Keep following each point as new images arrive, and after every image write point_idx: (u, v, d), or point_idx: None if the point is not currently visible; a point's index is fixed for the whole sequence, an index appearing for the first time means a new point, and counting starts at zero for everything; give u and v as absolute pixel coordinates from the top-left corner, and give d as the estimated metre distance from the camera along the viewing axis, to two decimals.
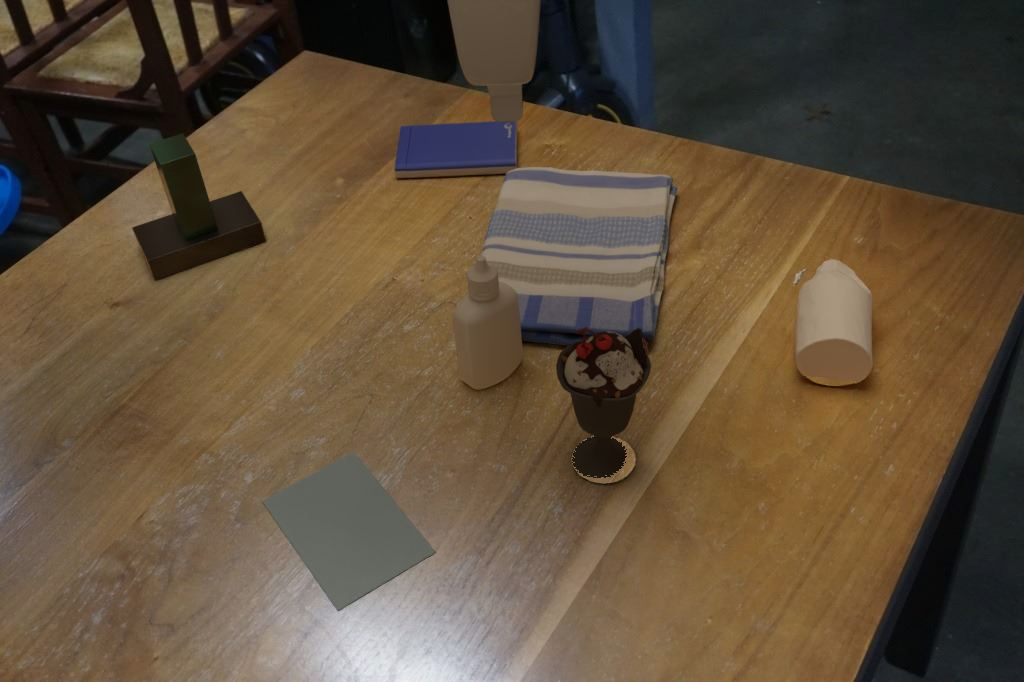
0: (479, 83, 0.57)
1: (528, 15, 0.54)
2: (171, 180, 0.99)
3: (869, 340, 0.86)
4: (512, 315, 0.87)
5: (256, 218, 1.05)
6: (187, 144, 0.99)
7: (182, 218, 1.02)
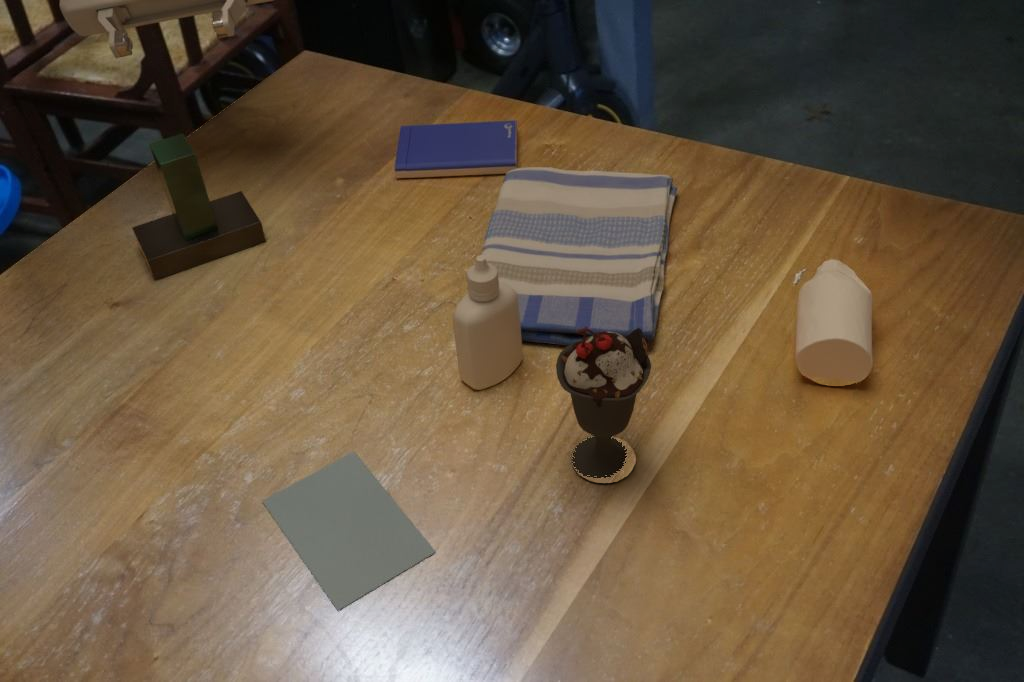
0: None
1: None
2: (171, 180, 0.99)
3: (869, 340, 0.86)
4: (512, 315, 0.87)
5: (256, 218, 1.05)
6: (187, 144, 0.99)
7: (182, 218, 1.02)
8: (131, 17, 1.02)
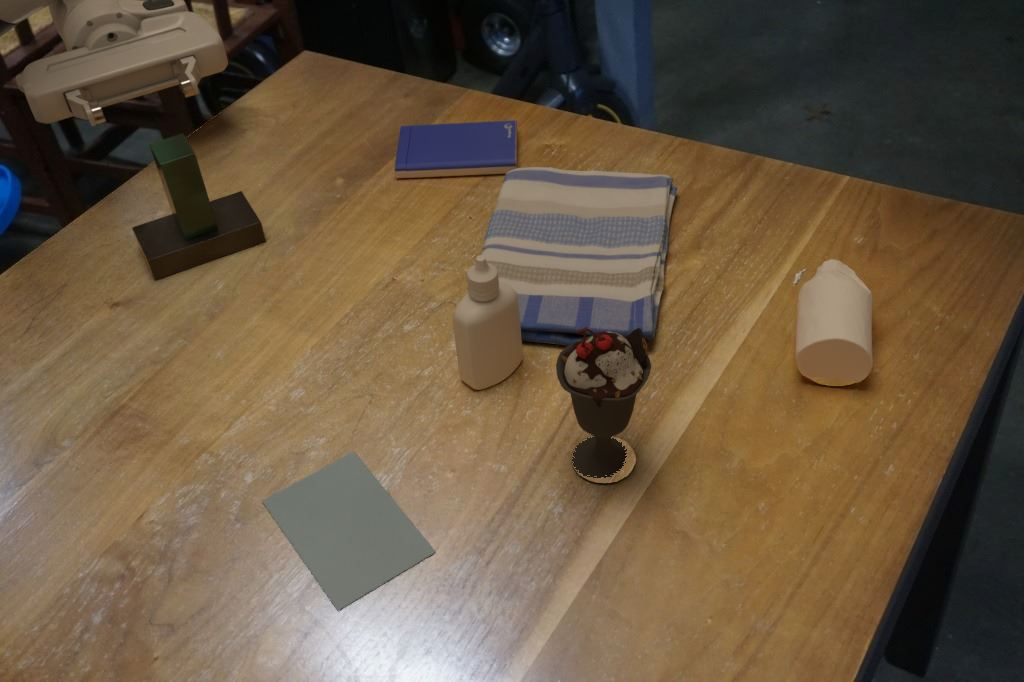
0: (221, 45, 1.14)
1: None
2: (171, 180, 0.99)
3: (869, 340, 0.86)
4: (512, 315, 0.87)
5: (256, 218, 1.05)
6: (187, 144, 0.99)
7: (182, 218, 1.02)
8: (92, 101, 1.11)
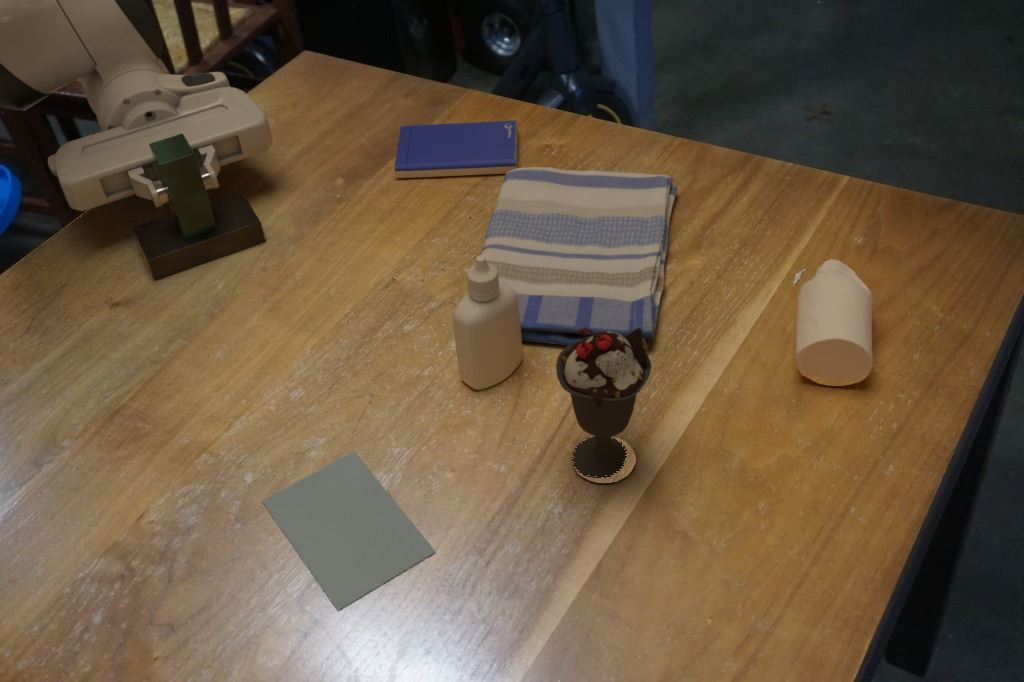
0: (266, 125, 1.07)
1: None
2: (170, 180, 0.99)
3: (869, 340, 0.86)
4: (512, 315, 0.87)
5: (256, 218, 1.05)
6: (187, 144, 0.99)
7: (182, 218, 1.02)
8: (130, 185, 1.04)
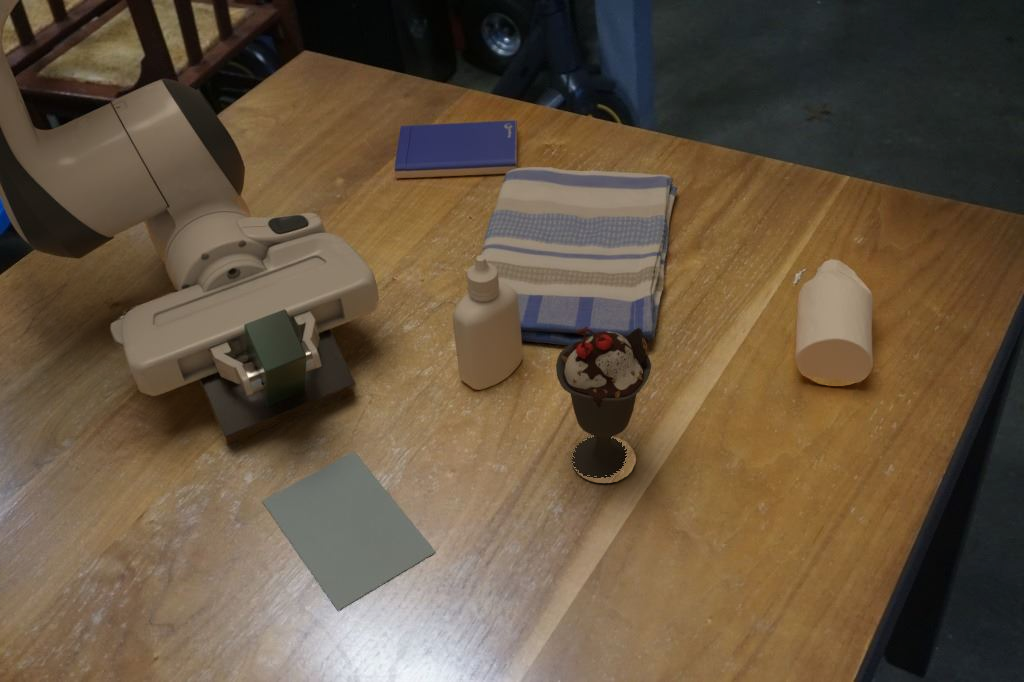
0: (373, 283, 0.89)
1: None
2: (271, 377, 0.80)
3: (869, 340, 0.86)
4: (512, 315, 0.87)
5: (349, 376, 0.89)
6: (294, 335, 0.80)
7: (271, 395, 0.84)
8: (211, 362, 0.86)
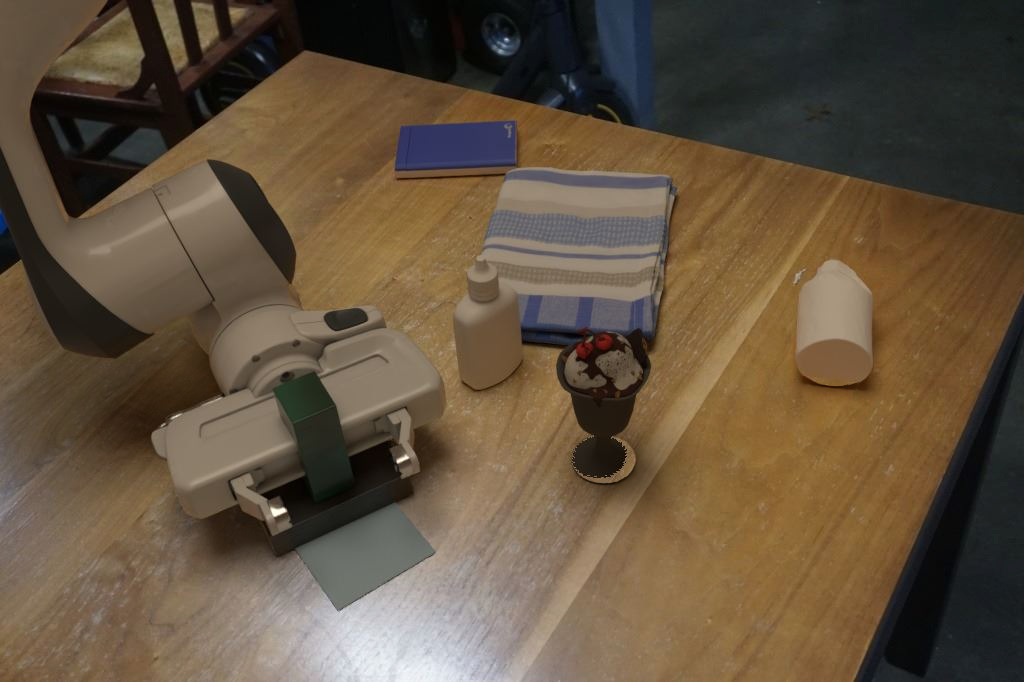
0: (441, 388, 0.80)
1: None
2: (304, 439, 0.75)
3: (869, 340, 0.86)
4: (512, 315, 0.87)
5: None
6: (323, 390, 0.76)
7: (314, 480, 0.78)
8: (264, 479, 0.77)
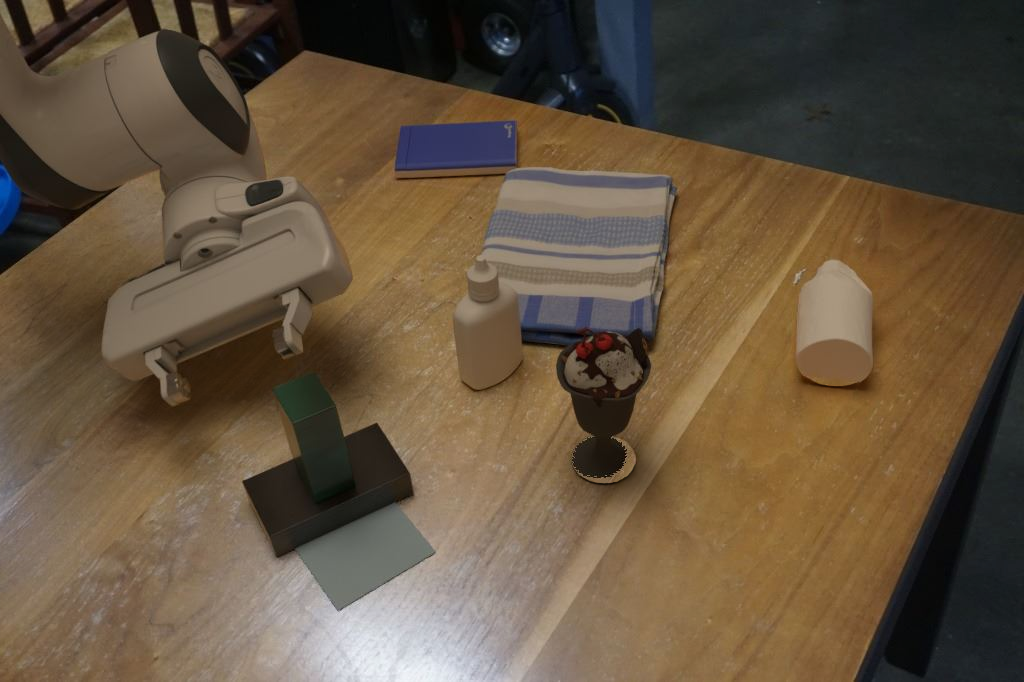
0: (334, 267, 0.82)
1: (345, 252, 0.86)
2: (304, 439, 0.75)
3: (869, 340, 0.86)
4: (512, 315, 0.87)
5: (403, 467, 0.81)
6: (323, 390, 0.76)
7: (314, 480, 0.78)
8: (185, 348, 0.85)
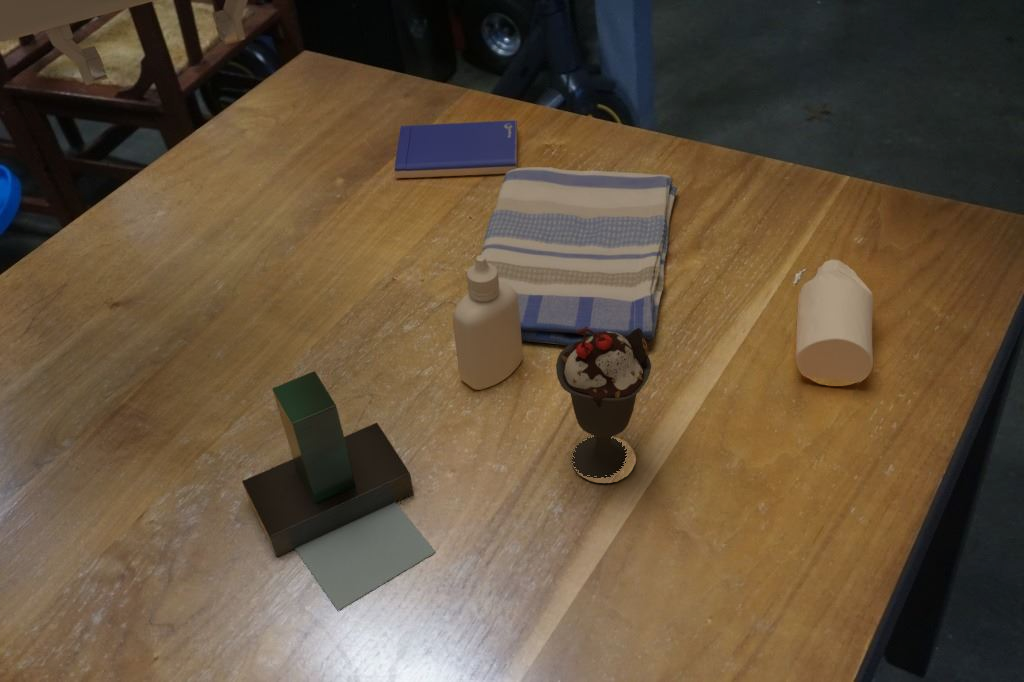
0: None
1: None
2: (304, 439, 0.75)
3: (869, 340, 0.86)
4: (512, 315, 0.87)
5: (403, 467, 0.81)
6: (323, 390, 0.76)
7: (314, 480, 0.78)
8: None
